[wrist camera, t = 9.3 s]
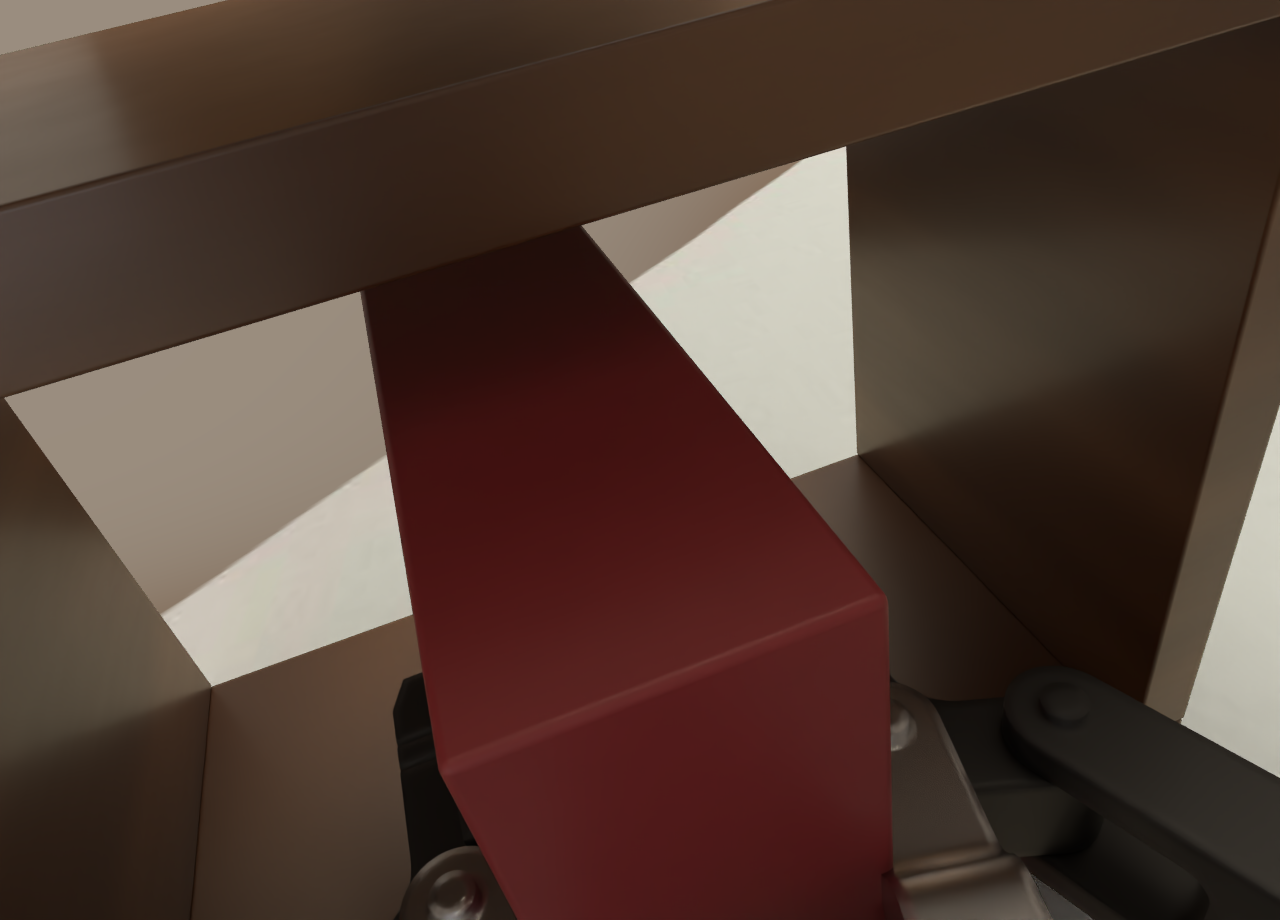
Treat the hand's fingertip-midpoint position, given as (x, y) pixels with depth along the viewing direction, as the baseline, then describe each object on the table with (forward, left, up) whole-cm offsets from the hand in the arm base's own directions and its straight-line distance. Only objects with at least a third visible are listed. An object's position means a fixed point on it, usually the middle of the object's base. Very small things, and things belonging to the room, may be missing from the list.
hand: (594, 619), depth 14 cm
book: (0, +1, -6) cm, 6 cm away
